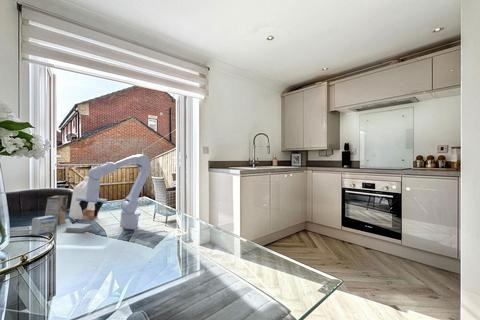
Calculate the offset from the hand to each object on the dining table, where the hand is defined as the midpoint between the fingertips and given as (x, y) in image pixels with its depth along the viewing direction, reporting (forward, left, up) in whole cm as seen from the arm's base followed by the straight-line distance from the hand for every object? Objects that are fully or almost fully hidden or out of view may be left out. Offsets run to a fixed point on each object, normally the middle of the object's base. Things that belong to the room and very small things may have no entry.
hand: (89, 215), depth 123 cm
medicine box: (+17, +8, -9) cm, 21 cm away
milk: (+15, -27, -9) cm, 32 cm away
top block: (+4, +1, -7) cm, 9 cm away
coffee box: (+20, -7, -9) cm, 23 cm away
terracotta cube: (0, 0, -2) cm, 2 cm away
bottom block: (+4, +2, -9) cm, 10 cm away
